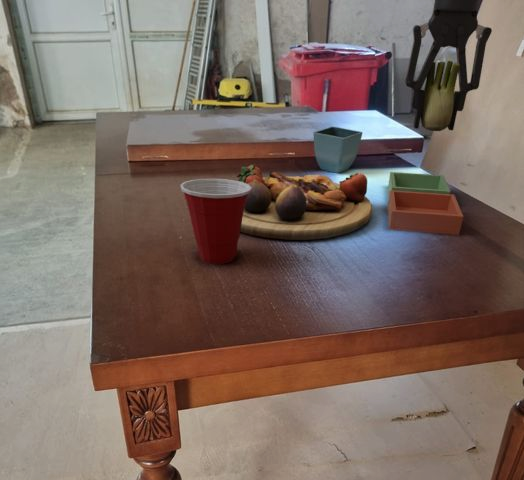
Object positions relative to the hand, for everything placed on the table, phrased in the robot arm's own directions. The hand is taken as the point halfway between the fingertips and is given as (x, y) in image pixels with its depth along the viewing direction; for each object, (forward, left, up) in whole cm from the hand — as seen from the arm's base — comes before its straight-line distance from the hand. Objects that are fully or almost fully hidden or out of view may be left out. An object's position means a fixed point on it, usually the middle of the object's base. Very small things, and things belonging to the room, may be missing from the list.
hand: (433, 127), depth 103 cm
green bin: (+1, -2, -15) cm, 15 cm away
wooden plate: (+26, +12, -15) cm, 32 cm away
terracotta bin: (+1, +12, -15) cm, 19 cm away
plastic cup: (+35, +36, -15) cm, 53 cm away
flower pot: (+19, -20, -15) cm, 31 cm away
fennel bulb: (0, 0, -1) cm, 1 cm away
